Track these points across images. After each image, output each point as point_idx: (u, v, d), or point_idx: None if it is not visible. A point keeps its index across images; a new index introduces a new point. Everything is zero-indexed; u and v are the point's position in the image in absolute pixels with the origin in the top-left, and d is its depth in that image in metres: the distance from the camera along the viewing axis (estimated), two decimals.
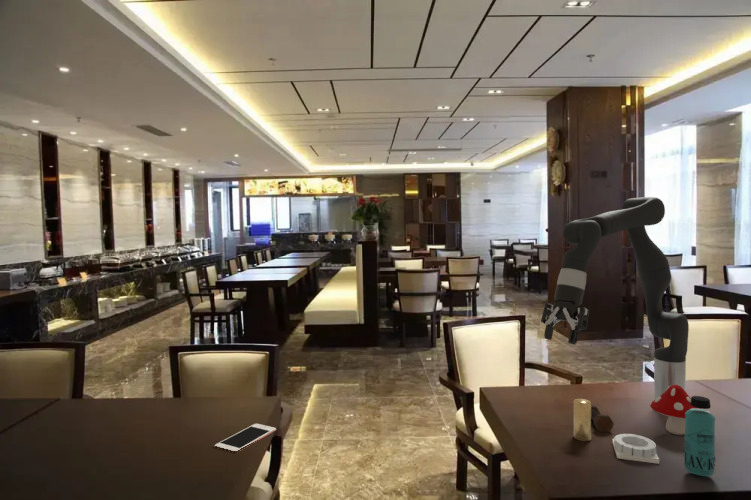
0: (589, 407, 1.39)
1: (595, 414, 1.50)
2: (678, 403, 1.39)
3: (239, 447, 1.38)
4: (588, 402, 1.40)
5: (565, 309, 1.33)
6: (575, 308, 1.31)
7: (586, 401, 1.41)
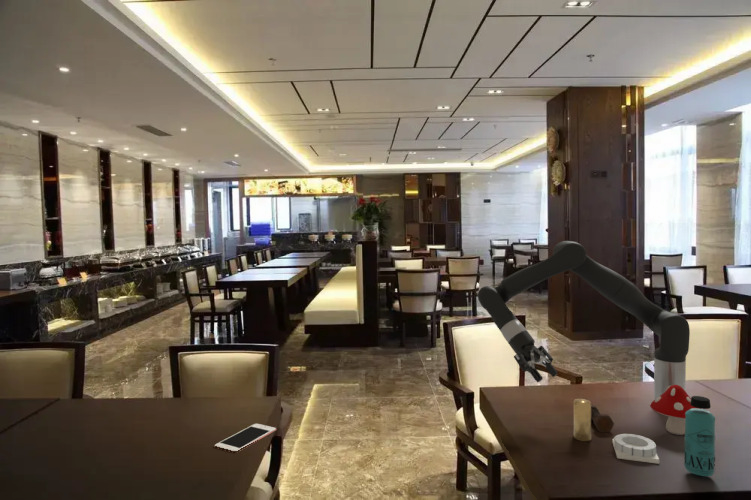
0: (589, 407, 1.39)
1: (595, 414, 1.50)
2: (678, 403, 1.39)
3: (239, 447, 1.38)
4: (588, 402, 1.40)
5: None
6: None
7: (586, 401, 1.41)
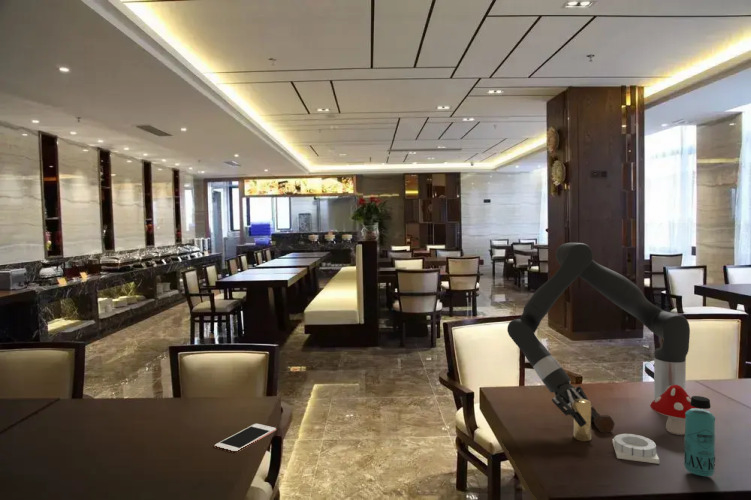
0: (589, 407, 1.39)
1: (595, 415, 1.50)
2: (678, 403, 1.39)
3: (239, 447, 1.38)
4: (588, 402, 1.40)
5: None
6: None
7: (586, 401, 1.41)
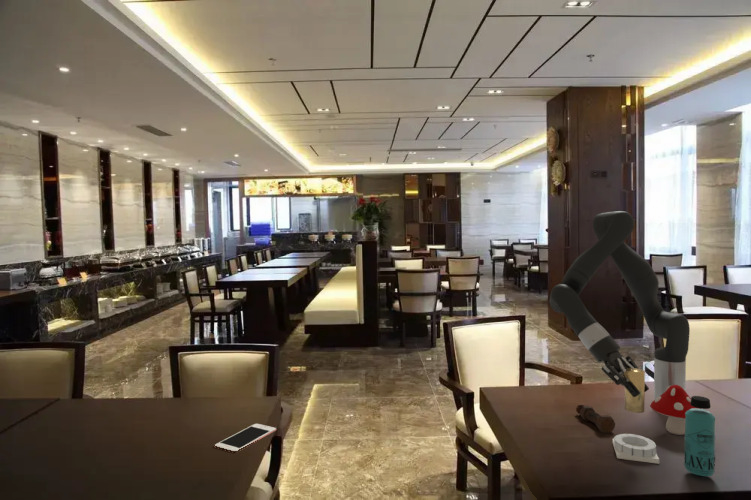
0: (643, 376, 1.28)
1: (595, 415, 1.49)
2: (678, 403, 1.39)
3: (239, 447, 1.38)
4: (641, 371, 1.30)
5: None
6: None
7: (639, 370, 1.30)
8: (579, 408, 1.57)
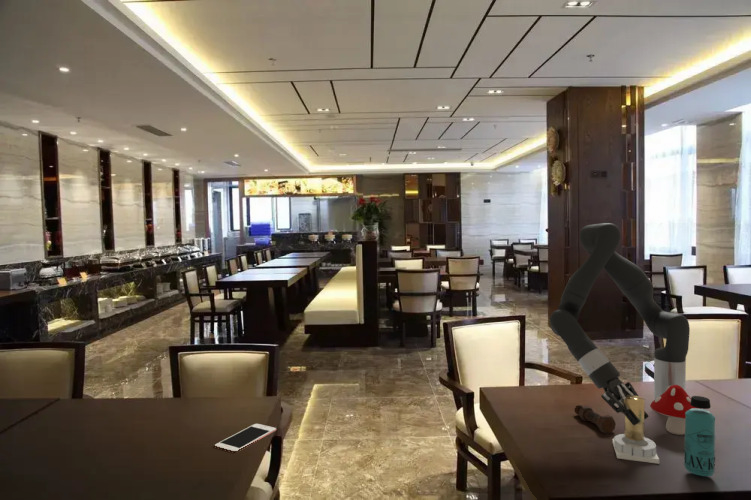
0: (643, 404, 1.29)
1: (595, 415, 1.49)
2: (678, 403, 1.39)
3: (239, 447, 1.38)
4: (641, 399, 1.30)
5: None
6: None
7: (639, 398, 1.31)
8: (578, 408, 1.57)
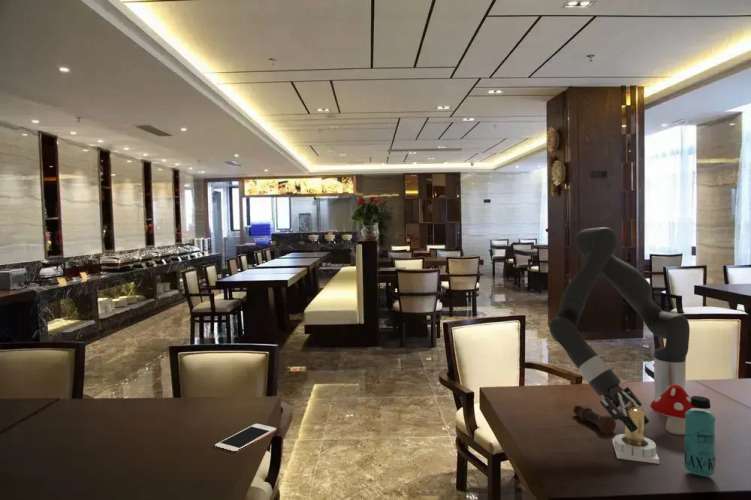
0: (642, 415, 1.29)
1: (595, 416, 1.49)
2: (678, 403, 1.39)
3: (239, 447, 1.38)
4: (641, 410, 1.30)
5: None
6: None
7: (638, 409, 1.31)
8: (577, 409, 1.57)
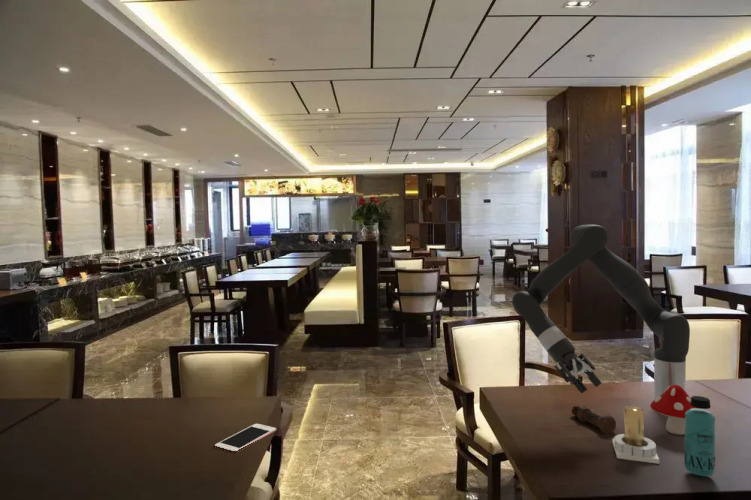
0: (642, 415, 1.29)
1: (594, 416, 1.48)
2: (678, 403, 1.39)
3: (239, 447, 1.38)
4: (640, 410, 1.30)
5: None
6: None
7: (638, 409, 1.31)
8: (575, 409, 1.56)
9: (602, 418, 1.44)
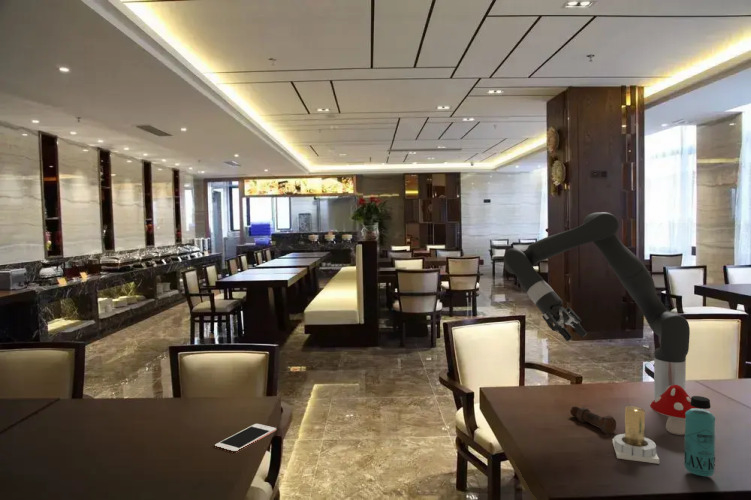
0: (643, 416, 1.29)
1: (595, 416, 1.48)
2: (678, 403, 1.39)
3: (239, 447, 1.38)
4: (641, 410, 1.30)
5: None
6: None
7: (639, 409, 1.31)
8: (574, 410, 1.56)
9: (603, 418, 1.44)
